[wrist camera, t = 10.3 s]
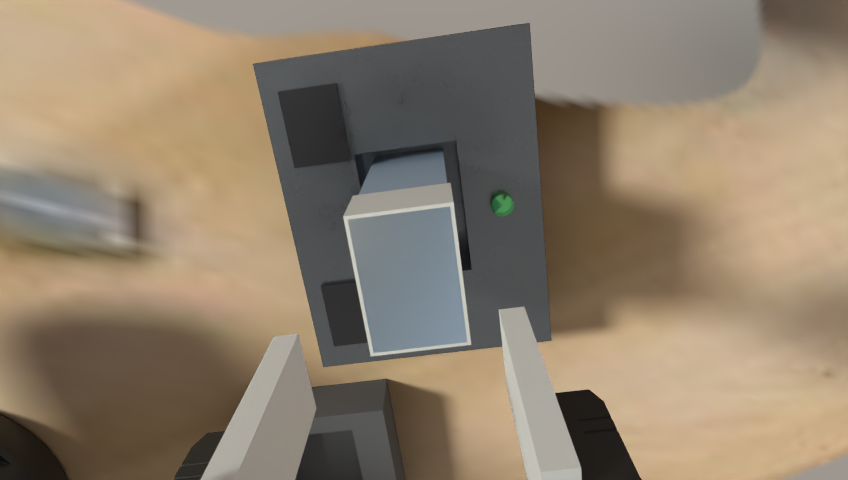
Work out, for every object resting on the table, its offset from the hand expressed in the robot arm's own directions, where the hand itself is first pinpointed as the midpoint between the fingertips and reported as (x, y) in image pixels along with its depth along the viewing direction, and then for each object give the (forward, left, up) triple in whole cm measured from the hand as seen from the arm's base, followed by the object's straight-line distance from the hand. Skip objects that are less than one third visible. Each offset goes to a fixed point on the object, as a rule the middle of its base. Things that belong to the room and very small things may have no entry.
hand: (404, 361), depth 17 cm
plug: (0, 0, -18) cm, 18 cm away
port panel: (0, 0, -19) cm, 19 cm away
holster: (-9, -18, -19) cm, 28 cm away
